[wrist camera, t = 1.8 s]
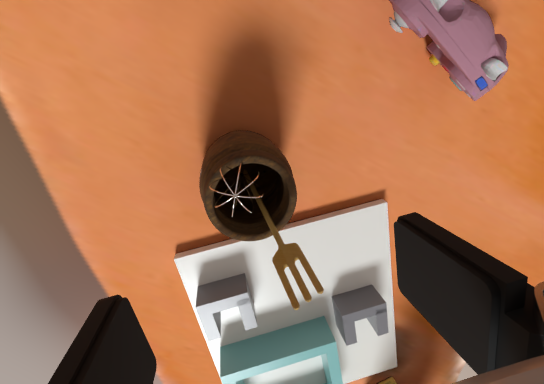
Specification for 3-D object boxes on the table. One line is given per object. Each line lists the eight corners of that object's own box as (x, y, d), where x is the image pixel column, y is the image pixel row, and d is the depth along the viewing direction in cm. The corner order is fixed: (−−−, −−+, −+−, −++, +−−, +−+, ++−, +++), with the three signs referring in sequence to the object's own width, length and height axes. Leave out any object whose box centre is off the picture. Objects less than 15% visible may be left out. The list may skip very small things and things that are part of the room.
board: (175, 253, 23) (167, 283, 20) (382, 198, 25) (409, 216, 21) (235, 410, 31) (237, 452, 27) (393, 360, 32) (414, 393, 29)
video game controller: (363, -5, 21) (379, 11, 16) (421, -72, 18) (463, -79, 13) (442, 85, 24) (476, 124, 19) (500, 39, 22) (559, 70, 16)
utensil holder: (250, 111, 21) (287, 137, 10) (296, 178, 23) (369, 262, 12) (185, 159, 21) (147, 238, 10) (236, 220, 23) (252, 340, 12)
